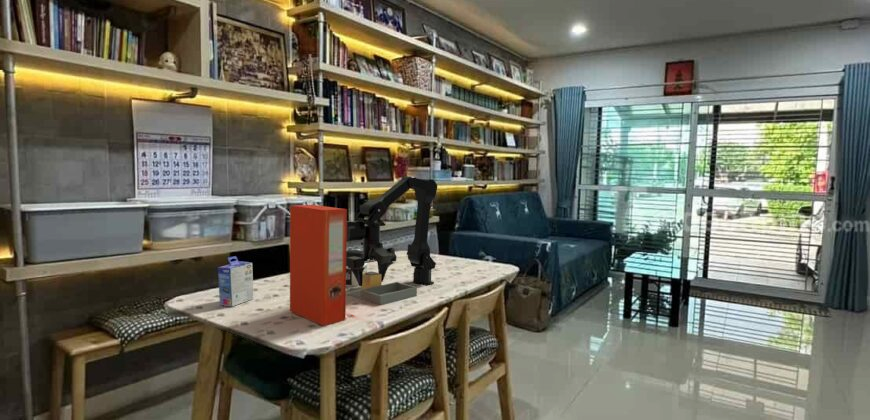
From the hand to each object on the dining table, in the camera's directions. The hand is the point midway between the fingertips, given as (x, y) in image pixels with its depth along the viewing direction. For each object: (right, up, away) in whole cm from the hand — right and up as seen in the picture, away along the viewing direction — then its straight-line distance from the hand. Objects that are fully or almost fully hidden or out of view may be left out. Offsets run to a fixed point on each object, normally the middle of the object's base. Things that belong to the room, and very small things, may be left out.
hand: (371, 283), depth 163 cm
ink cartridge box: (-41, -4, -13) cm, 43 cm away
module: (0, -3, 0) cm, 2 cm away
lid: (-1, -3, +1) cm, 3 cm away
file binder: (-12, -6, -25) cm, 29 cm away
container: (-8, -2, +12) cm, 14 cm away
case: (+7, -4, -6) cm, 10 cm away
